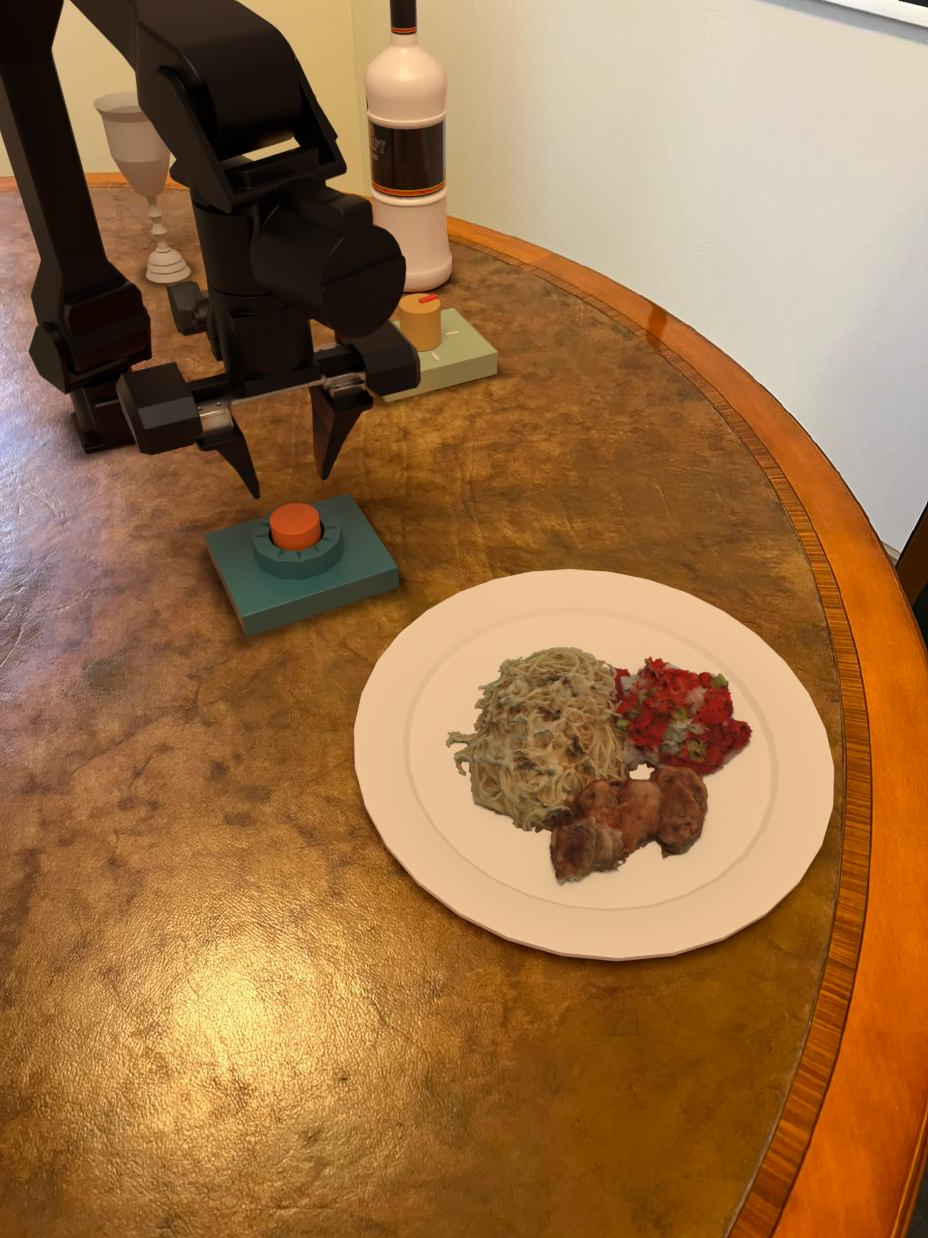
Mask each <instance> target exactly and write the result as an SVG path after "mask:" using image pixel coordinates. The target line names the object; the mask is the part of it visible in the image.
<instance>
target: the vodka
mask: <svg viewBox="0 0 928 1238" xmlns="http://www.w3.org/2000/svg"><path fill="white" fill-rule="evenodd" d="M417 5H418V4H417V0H389V19H390V35H389V37H390V43H389V45H388V46H387V47H386V48H384V49H383V50H382V51H381V52H380V53H379V54H378V55H377V56H375V58H373V59H372V60H371V61H370V62H369V63H368V65H367V67H365V68H366V69H365V72H364V76H363V80H362V82H363V85H364V90H365V99H366V100H365V101H366V117H367V133H368V134H367V135H368V149H369V165H370V180H371V184H370V188H369V193H370V195H371V203H372V211H373V224H375V225H377V226H380V227H382V228H384V229H386V230H387V231H388V232H390V233H391V234H392V235H393V236H394V237H395V239H396V241H397V242H398V244H399V246H400V249H401V252H402V255H403V256H404V257H405V259H406V282H405V286H404V290H403V293H422V292H426V291H431V290H434V289H436V288H438V287H440V286H441V285H443V284H444V283H446V282H447V281H448V280H449V278H450V276H451V274H452V272H453V254H452V251H451V249H450V243H449V237H448V217H447V216H448V215H447V204H448V203H447V199H448V193H449V187H448V184H447V152H446V151H447V150H446V149H447V148H446V147H447V143H446V142H447V140H446V139H447V138H446V136H447V134H446V132H447V131H446V129H447V128H446V123H447V122H446V121H447V120H446V117H447V115H448V106H447V95H448V77H447V74H446V70H445V68H444V67H443V65H442V63H441V62H440V61H439V60H438V59H437V58H436V57H435V56H433V55H432V54H431V53H429V52H428V51H427V50H426V49H425V48H423V47H422V46H421V45H420V44H419V42H418V41H419V40H418V39H419V38H418V11H417Z"/></svg>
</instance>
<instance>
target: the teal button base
mask: <svg viewBox="0 0 928 1238" xmlns="http://www.w3.org/2000/svg"><path fill="white" fill-rule="evenodd" d="M307 505H310V506H312V507H313V508H315V509H316V511H317V512H318V514H319V519H320V527H321V538H320V540H319V541H318V543H317V544H316V545H314V546H313V547H309V548H306V549H303V550H300V551H295V550H283V549H281V548H279V547H278V546H277V545H276V544H275V543H274V541H273V537H272V532H271V526H270V517H271V515H272V513H273V512H274V511H275V510H276V509H277V508H276V509H272V510H270V511H269V512H268V513H267V514H265V515H264V516H263V517H259V518H256V519H252V520H249V521H246V522H241V523H238V524H235V525H231V526H228V527H225V528H221V529H217V530H214V531H211V532H208V533H204V540H205V544H206V547H207V551H208V552H207V553H208V556H209V558H210V560H211V562H212V565H213V566H214V569H215V571H216V573H217V575H218V577H219V580H220V583H221V584H222V586H223V588H224V591H225V593H226V595H227V598H228V600H229V602H230V604H231V606H232V608H233V611H234V614H235V615H236V618H237V620H238V622H239V624H240V627H241V629H242V631H243V633H244V635H245V637H246V638H251V637H254V636H256V635H259V634H263V633H265V632H269V631H272V630H275V629H278V628H281V627H285V626H286V625H287V626H288V625H290V624H293V623H296V622H299V621H303V620H306V619H309V618H311V617H315V616H317V615H320V614H323V613H327V612H330V611H333V610H335V609H339V608H343V607H346V606H348V605H352V604H354V603H357V602H360V601H364V600H366V599H370V598H372V597H375V596H378V595H382V594H384V593H387V592H392V591H394V590H397V589H399V588H400V575H399V566H398V564H397V563H396V562H395V560H394V558H393V557H392V555H391V554H390V552H389V551H388V550H387V548H386V546H385V545H384V543H383V542H382V540H381V539H380V537H379V535H378V534H377V532H376V531H375V530H374V528H373V527H372V525H371V523H370V522H369V520H368V519H367V517H366V516H365V514H364V512H363V511H362V510H361V508H360V507H359V505H358V504H357V502H356V500H355V499H354V498H353V496H352V494H351V493H350V492H347V493H343V494H339V495H336V496H332V497H329V498H325V499H322V500H318V501H315V502H311V503H308V504H307Z"/></svg>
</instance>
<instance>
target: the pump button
mask: <svg viewBox="0 0 928 1238" xmlns="http://www.w3.org/2000/svg"><path fill="white" fill-rule="evenodd" d="M274 510H275V509H274ZM270 526H271V532H272V537H273V541H274V543H275V544H276V545H277V546H278V547H279V548H281V549H283V550H295V551H300V550H303V549H306V548H309V547H313V546H314V545H316V544H317V543H318V541H319V540H320V538H321V527H320V519H319V514H318V512H317V511H316V509H315V508H313V507H312V506H310V505H308V504H307V503H303V502H302V503H301V502H291V503H287V504H283V505H281V506H279V507H277V508H276V510H275V511H274V512H273V513H272V515H271V517H270Z"/></svg>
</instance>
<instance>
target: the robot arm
mask: <svg viewBox="0 0 928 1238" xmlns="http://www.w3.org/2000/svg"><path fill="white" fill-rule="evenodd" d="M69 1H70V2H71V4H72V5H73V6H74V7H75V8H76V9H77V10H78V11H79V12H80V14H82V15H83V16H84V17H85V18H86V19H87V21H89V22H90V23H91V24H92V25H93V26H94V27H95V29H97V31H98V32H99V33H100V34H101V35H102V36H103V37H104V38H105V39H106V40H107V41H108V42H109V43H110V44H111V45H112V46H113V47H114V48H115V49H116V50H117V51H118V52H119V53H120V55H122V57H123V59H125V61H126V62H127V63H128V65H129V66H130V67H131V69H132V70H133V72H134V76H135V87H136V91H137V97H138V105H139V107H140V109H141V110H142V111H143V113H144V114H145V115H146V117H147V118H148V119H149V120H150V122H151V123H152V124H153V126H154V128H155V130H156V131H157V133H158V135H159V136H160V138H161V139H162V141H163V142H164V143H165V145H166V146H167V148H168V149H169V150H170V152H171V153H170V154H172V156H173V158H174V159H175V160H174V161H173V163H172V165H171V166H169V171H168V174H169V177H170V179H171V180H172V181H173V182H176V183H177V184H179V185H182V186H184V187H186V188H187V189H188V190H189V197H190V202H191V206H192V212H193V216H194V221H195V227H196V232H197V236H198V241H199V248H200V253H201V258H202V262H203V268H204V271H205V278H206V284H207V285H206V290H201V289H200V286H199V283H198V282H196V281H193V280H186V281H185V280H184V281H179V282H174V283H172V284H171V283H169V284H166V285H165V288H166V293H167V297H168V303H169V308H170V310H171V315H172V318H173V321H174V322H173V323H174V325H175V328H176V330H177V333H179V335H181V336H183V337H189V336H190V337H191V336H194V335H199V334H204V333H205V335H206V337H207V340H208V342H209V344H210V348H211V354H212V356H213V357H214V359H215V361H216V362H217V363H220V362H222V364H223V369H224V372H222V373H219V374H215V375H212V376H206V377H202V378H198V379H193V380H190V381H186V380H185V378H184V376H183V374H182V371H181V370H180V368H179V366H178V364H177V362H176V361H172V362H168V363H164V364H159V365H155V366H150V367H145V368H141V369H137V370H133V366H135V365H138V364H140V363H143V362H145V361H146V362H147V361H149V360H152V359H153V346H152V345H153V344H152V326H151V324H152V323H151V317H150V314H149V313H148V309H147V307H146V306H145V305H144V301H143V295H142V294H143V293H142V291H141V289H140V288H139V287H138V286H137V285H136V284H135V283H134V282H131V280H129V278H127V277H126V276H125V274H123V272H121V271H120V270H119V269H118V268H117V267H116V266H115V265H114V264H113V263H112V262H111V261H110V260H109V259H108V256H107V253H106V250H105V246H104V242H103V238H102V234H101V231H100V227H99V223H98V219H97V216H96V212H95V208H94V205H93V201H92V197H91V193H90V190H89V189H90V188H89V184H88V182H87V179H86V175H85V171H84V167H83V163H82V160H81V159H82V158H81V155H80V152H79V148H78V145H77V140H76V137H75V132H74V128H73V125H72V122H71V117H70V114H69V109H68V107H67V102H66V99H65V95H64V91H63V88H62V84H61V81H60V76H59V73H58V68H57V65H56V62H55V61H56V60H55V57H54V52H53V46H54V43H55V38H56V36H57V35H56V34H57V31H58V28H59V23H60V20H61V16H62V13H63V8H64V4H65V0H0V135H1V138H2V141H3V145H4V147H5V152H6V154H7V157H8V160H9V163H10V167H11V170H12V173H13V176H14V179H15V182H16V186H17V188H18V193H19V194H20V198H21V201H22V204H23V208H24V210H25V214H26V217H27V220H28V223H29V226H30V230H31V233H32V236H33V239H34V241H35V242H34V243H35V245H36V248H37V250H38V251H37V252H38V255H39V258H40V259H39V260H40V262H39V265H38V269H37V272H36V276H35V279H34V282H33V286H32V290H31V293H30V300H31V303H32V307H33V311H34V315H35V319H36V322H37V325H36V327H35V329H34V332H33V335H32V339H31V341H30V345H29V348H28V354H29V356H30V359H31V361H32V362H33V365H34V366H35V369H36V371H37V373H38V375H39V376H40V377H41V378H43V379H44V380H45V381H46V382H48V383H49V384H50V385H52V386H53V387H54V388H55V389H57V390H58V391H59V392H61V393H62V394H63V395H68V394H69V398H70V401H71V404H72V406H73V409H74V412H72V413H71V419H72V422H73V424H74V427H75V430H76V433H77V435H78V438H79V441H80V444H81V447H82V449H83V452H84V453H93V452H97V451H102V450H105V449H109V448H113V447H117V446H121V445H125V444H129V443H133V442H135V443H136V446H137V448H138V451H139V453H140V454H143V455H147V456H155V455H159V454H163V453H167V452H171V451H174V450H178V449H183V448H187V447H191V446H194V445H195V446H196V448H197V449H198V450H199V451H200V452H204V453H208V452H212V451H216V452H217V453H218V454H219V455H220V456H221V457H222V458H223V459H224V460H225V461H226V462H227V463H228V464H229V465H230V466H231V467H232V468H233V469H234V470H235V471H236V473H237V475H238V476H239V477H240V479H241V481H242V482H243V483H244V485H245V487H246V488H247V490H248V491H249V493H250V494H251V496H252V497H253V499H254V500H258V499H261V490H260V489H261V488H260V483H259V479H258V476H257V473H256V469H255V466H254V462H253V459H252V456H251V453H250V449H249V447H248V443H247V440H246V437H245V435H244V432H243V431H242V429H241V428H240V426H239V424H238V422H237V421H236V418H235V417H234V415H233V411H232V407H234V406H238V405H241V404H247V403H250V402H255V401H259V400H263V399H267V398H270V397H274V396H278V395H284V394H286V393H290V392H295V391H299V390H303V389H308V391H309V396H310V400H311V402H310V403H311V417H312V418H311V419H312V441H313V445H312V446H313V456H314V458H313V459H314V463H315V468H316V473H317V476H318V477H319V479H320V481H327V480H328V479H329V476H330V474H331V472H332V470H333V468H334V465H335V463H336V460H337V458H338V457H339V454H340V452H341V450H342V447H343V446H344V443H345V442H346V440H347V438H348V436H349V434H350V433H351V431H352V430H353V428H354V426H355V425H356V424H357V422H358V420H359V418H360V416H361V415H362V414H363V413H364V412H366V411H370V410H373V408H374V405H375V400H374V397H373V396H372V395H371V394H370V392H369V390H370V391H371V392H373V393H374V394H376V395H377V396H378V397H380V398H382V397H383V396H387V395H391V394H394V393H398V392H402V391H406V390H410V389H414V388H417V387H418V385H419V384H420V382H421V369H420V358H419V355H418V352H417V349H416V347H415V346H414V345H413V344H412V343H411V342H410V341H409V339H408V338H407V337H406V336H405V335H404V334H403V333H402V332H401V331H400V329H399V328H398V327H397V326H396V325H395V324H394V323H393V321H392V320H391V317H392V316H393V314H394V313H395V311H396V309H397V308H398V307H399V302H400V300H401V299H402V296H403V293H404V292H403V290H404V286H405V282H406V259H405V257H404V256H403V255H402V252H401V249H400V246H399V244H398V242H397V241H396V239H395V237H394V236H393V235H392V234H391V233H390V232H388V231H387V230H386V229H384V228H382V227H380V226H377V225H375V224H374V214H373V203H372V201H370V199H368V198H365V197H363V196H361V195H358V194H355V193H345V192H342V191H341V190H338V189H335V188H333V187H331V186H328V185H327V181H329V180H332V179H334V178H337V177H340V176H343V175H346V173H347V172H348V166H347V163H346V160H345V158H344V155H343V154H342V151H341V150H340V148H339V145H338V143H337V140H338V139H339V135H338V133H337V132H336V130H335V128H334V126H333V125H332V123H331V122H330V120H329V118H328V117H327V115H326V113H325V111H324V110H323V108H322V106H321V104H320V103H319V101H318V100H317V99H318V97H317V95H316V94H315V92H314V90H313V88H312V86H311V84H310V82H309V80H308V78H307V75H306V73H305V71H304V68H303V67H302V65H301V62H300V60H299V59H298V57H297V55H296V53H295V51H294V49H293V47H292V46H291V44H290V42H289V41H288V40H287V38H286V37H285V36H284V34H283V33H282V32H281V31H280V30H279V28H277V27H276V26H275V25H274V24H273V23H271V22H270V21H268V20H266V19H265V18H263V17H262V16H261V15H260V14H259V13H256V12H255V11H254V10H252V9H251V8H249V7H247V6H246V5H244V4H243V3H241V2H240V1H238V0H69ZM292 139H294V140H295V142H296V143H297V144H298V146H296V147H294V148H290V149H288V150H284V151H281V152H278V153H275V154H272V155H268V156H265V157H262V158H259V159H255V160H253V159H251V158H248V157H246V156H245V155H246V154H250V153H252V152H256V151H259V150H263V149H266V148H269V147H272V146H275V145H278V144H281V143H285V142H288V141H290V140H292ZM311 320H313V321H316V322H317V323H319V324H320V325H322V326H325V327H326V328H328V329H330V330H331V331H333V334H334V341H332V342H327V343H323V344H319V345H315V346H314V339H313V332H312V323H311ZM366 387H367V388H368V390H367V388H366Z"/></svg>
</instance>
